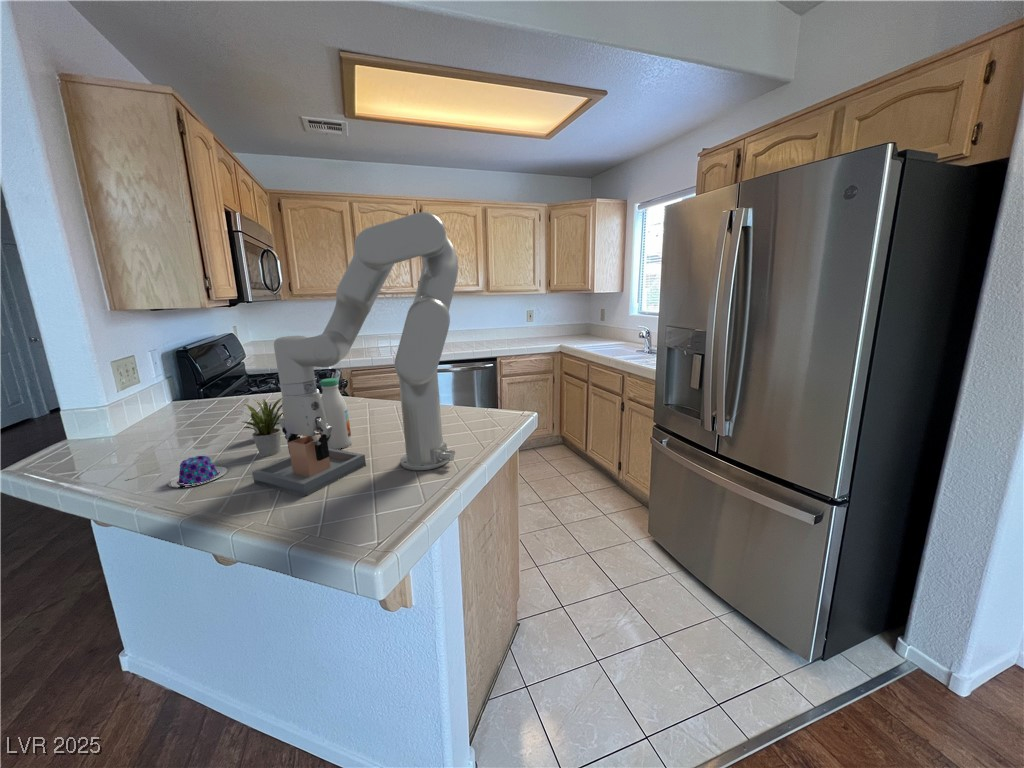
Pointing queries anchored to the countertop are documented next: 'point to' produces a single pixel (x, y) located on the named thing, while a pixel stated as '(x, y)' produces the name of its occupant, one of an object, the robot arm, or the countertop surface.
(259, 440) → the house plant
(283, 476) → the tray
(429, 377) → the robot arm
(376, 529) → the countertop surface
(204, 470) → the purple dotted hat
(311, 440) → the open square box
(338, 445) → the milk bottle
